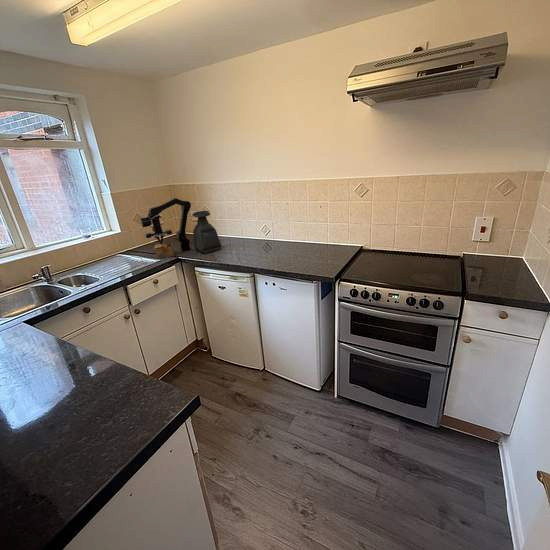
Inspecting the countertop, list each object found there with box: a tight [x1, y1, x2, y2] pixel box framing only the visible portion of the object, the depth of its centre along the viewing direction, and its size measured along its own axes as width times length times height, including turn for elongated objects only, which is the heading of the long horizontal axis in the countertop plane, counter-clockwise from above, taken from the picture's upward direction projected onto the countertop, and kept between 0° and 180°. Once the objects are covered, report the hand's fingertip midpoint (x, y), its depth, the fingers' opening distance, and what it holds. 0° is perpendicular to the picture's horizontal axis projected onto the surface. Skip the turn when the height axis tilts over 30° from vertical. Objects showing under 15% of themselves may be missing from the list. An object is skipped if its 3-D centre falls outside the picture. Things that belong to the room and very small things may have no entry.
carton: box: [154, 242, 176, 260], centre depth 232 cm, size 13×12×8 cm
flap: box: [153, 243, 164, 250], centre depth 229 cm, size 6×12×1 cm, turn 19°
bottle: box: [191, 210, 222, 255], centre depth 228 cm, size 18×16×30 cm
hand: (161, 244), depth 230 cm, fingers closed, pressing on flap
